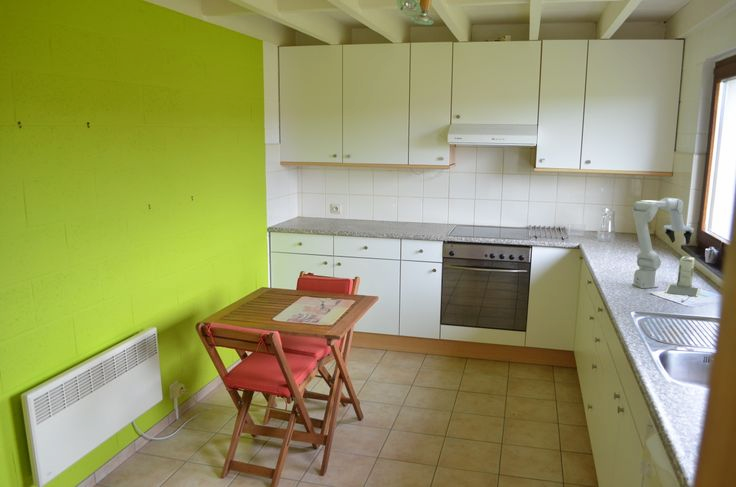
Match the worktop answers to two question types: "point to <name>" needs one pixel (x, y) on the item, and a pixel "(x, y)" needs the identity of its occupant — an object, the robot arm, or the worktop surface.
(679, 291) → the mat
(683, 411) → the worktop surface
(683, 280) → the syrup box
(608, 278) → the worktop surface
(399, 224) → the worktop surface
